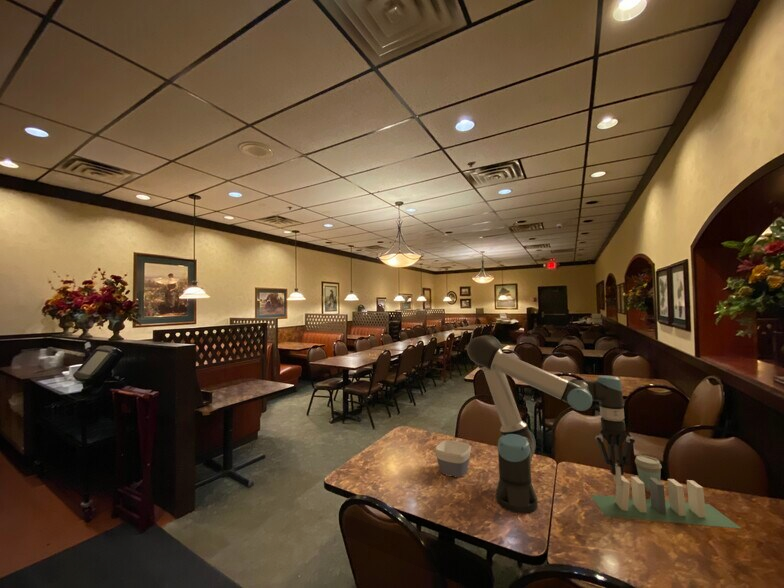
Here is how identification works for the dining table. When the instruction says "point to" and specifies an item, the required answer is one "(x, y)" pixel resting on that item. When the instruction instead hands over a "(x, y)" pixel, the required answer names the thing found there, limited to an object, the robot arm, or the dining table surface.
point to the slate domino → (657, 495)
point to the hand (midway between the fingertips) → (617, 483)
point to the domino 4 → (696, 498)
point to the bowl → (453, 457)
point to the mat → (613, 510)
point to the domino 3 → (676, 497)
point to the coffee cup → (648, 469)
